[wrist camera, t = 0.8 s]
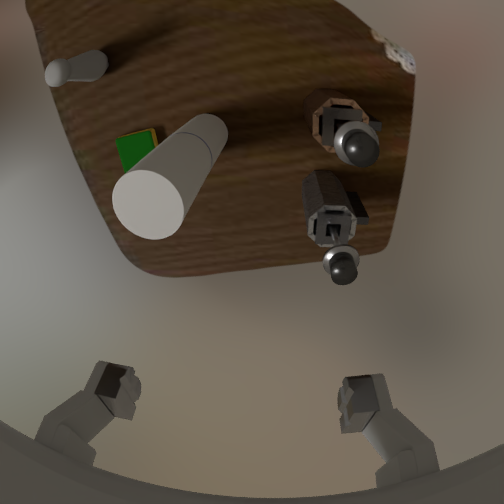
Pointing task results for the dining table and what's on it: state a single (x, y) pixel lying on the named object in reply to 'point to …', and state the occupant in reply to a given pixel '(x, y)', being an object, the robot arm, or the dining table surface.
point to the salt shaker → (77, 68)
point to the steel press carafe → (330, 208)
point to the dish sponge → (135, 147)
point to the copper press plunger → (356, 143)
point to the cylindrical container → (169, 178)
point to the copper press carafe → (332, 115)
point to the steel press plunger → (340, 260)
